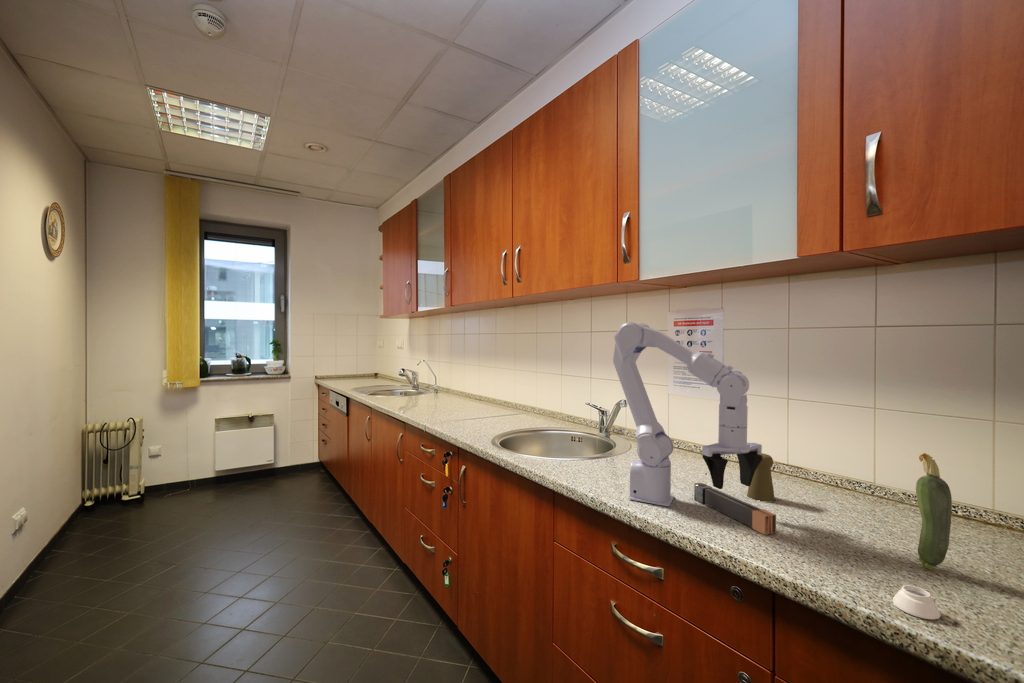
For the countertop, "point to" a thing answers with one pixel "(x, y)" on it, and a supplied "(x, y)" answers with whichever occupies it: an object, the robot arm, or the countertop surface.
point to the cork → (762, 481)
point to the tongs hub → (700, 492)
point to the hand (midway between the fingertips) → (731, 486)
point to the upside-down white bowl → (916, 602)
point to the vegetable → (933, 514)
